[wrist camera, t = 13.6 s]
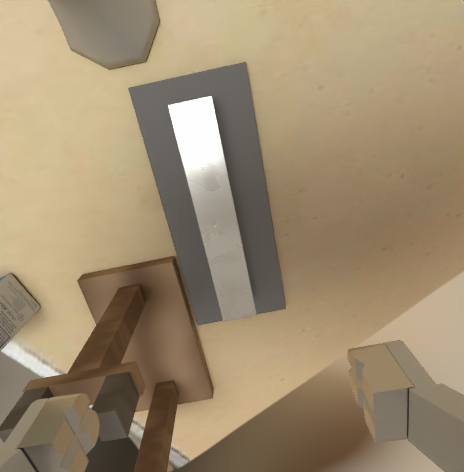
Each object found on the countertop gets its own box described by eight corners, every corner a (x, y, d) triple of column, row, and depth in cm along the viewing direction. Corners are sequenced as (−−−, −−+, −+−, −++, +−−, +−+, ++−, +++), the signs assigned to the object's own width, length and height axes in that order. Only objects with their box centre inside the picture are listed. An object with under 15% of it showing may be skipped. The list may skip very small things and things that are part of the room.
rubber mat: (245, 63, 24) (245, 61, 23) (284, 304, 32) (285, 308, 31) (131, 88, 24) (128, 87, 23) (198, 320, 32) (197, 325, 31)
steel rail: (212, 98, 24) (211, 96, 21) (253, 296, 30) (256, 315, 27) (174, 107, 24) (168, 105, 21) (223, 302, 30) (223, 321, 28)
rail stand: (174, 256, 29) (130, 384, 15) (213, 389, 35) (208, 567, 21) (82, 274, 30) (-42, 415, 16) (137, 402, 36) (82, 587, 22)
